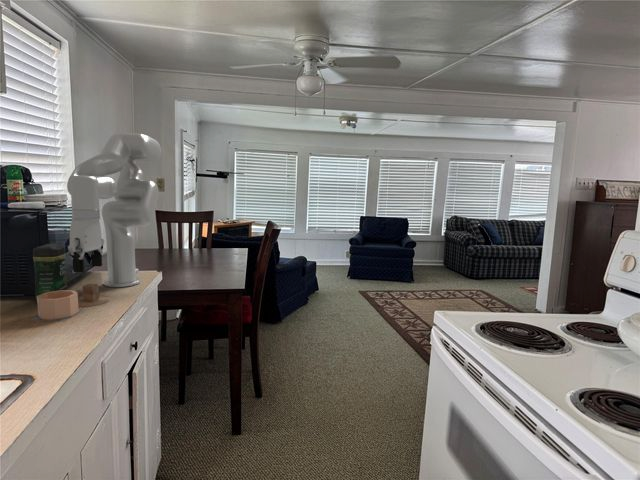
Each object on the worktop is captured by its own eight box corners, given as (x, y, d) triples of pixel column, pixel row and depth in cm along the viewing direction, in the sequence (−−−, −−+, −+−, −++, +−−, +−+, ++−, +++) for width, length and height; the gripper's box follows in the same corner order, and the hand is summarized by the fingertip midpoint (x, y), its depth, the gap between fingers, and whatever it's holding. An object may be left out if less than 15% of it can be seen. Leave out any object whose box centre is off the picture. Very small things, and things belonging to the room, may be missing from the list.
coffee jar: (59, 303, 128) (55, 246, 125) (32, 304, 126) (27, 246, 124) (72, 294, 137) (68, 241, 135) (46, 295, 136) (42, 241, 133)
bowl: (53, 308, 122) (52, 289, 121) (84, 309, 121) (83, 290, 121) (31, 319, 112) (29, 299, 111) (64, 320, 112) (63, 300, 111)
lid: (84, 298, 135) (83, 280, 134) (116, 299, 135) (115, 281, 134) (64, 308, 125) (63, 288, 124) (98, 309, 124) (97, 290, 123)
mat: (53, 309, 122) (53, 308, 122) (86, 310, 122) (86, 309, 122) (29, 321, 112) (29, 319, 112) (64, 322, 112) (64, 321, 112)
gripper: (90, 213, 134) (92, 263, 136) (55, 216, 117) (58, 274, 119) (112, 214, 134) (114, 264, 136) (81, 217, 117) (83, 274, 119)
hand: (88, 269), depth 127 cm, fingers open, 9 cm apart
